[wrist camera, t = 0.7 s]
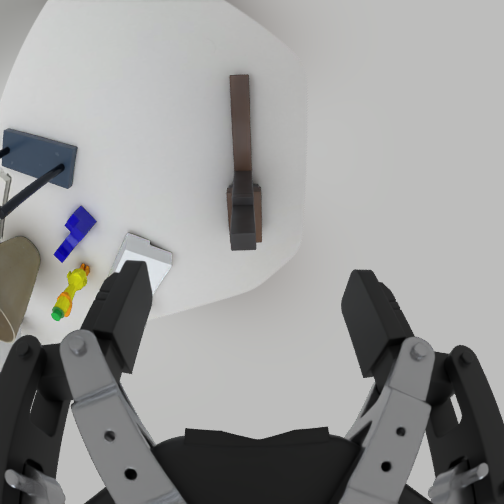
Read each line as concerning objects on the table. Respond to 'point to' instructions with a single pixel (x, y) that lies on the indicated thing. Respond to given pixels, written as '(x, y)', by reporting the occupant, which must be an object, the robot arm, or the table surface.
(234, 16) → the table surface
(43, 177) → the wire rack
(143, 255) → the bracket
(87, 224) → the cable holder
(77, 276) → the toy figure
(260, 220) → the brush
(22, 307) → the plant pot
